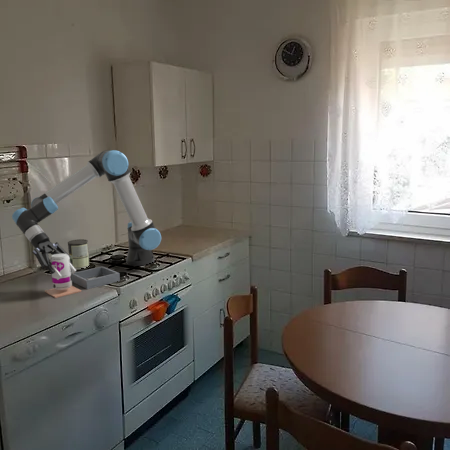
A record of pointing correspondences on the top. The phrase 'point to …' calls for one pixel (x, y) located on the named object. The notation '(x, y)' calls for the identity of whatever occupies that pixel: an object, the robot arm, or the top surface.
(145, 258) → the robot arm
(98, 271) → the parts tub
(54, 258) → the supplement can
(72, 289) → the terracotta tile
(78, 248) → the coffee can
